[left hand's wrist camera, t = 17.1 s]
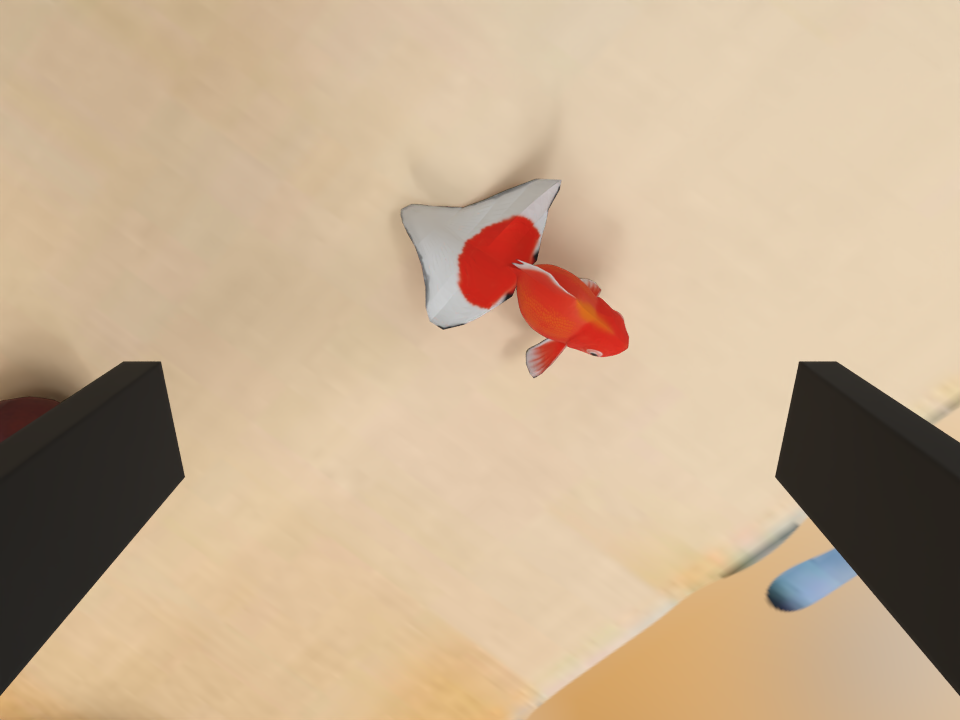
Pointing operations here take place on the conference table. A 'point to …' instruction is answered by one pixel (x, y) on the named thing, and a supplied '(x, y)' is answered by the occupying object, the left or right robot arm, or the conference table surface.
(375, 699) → the conference table surface
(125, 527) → the left robot arm
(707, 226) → the conference table surface
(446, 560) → the conference table surface
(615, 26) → the conference table surface
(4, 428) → the dark maroon ball
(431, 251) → the fish
